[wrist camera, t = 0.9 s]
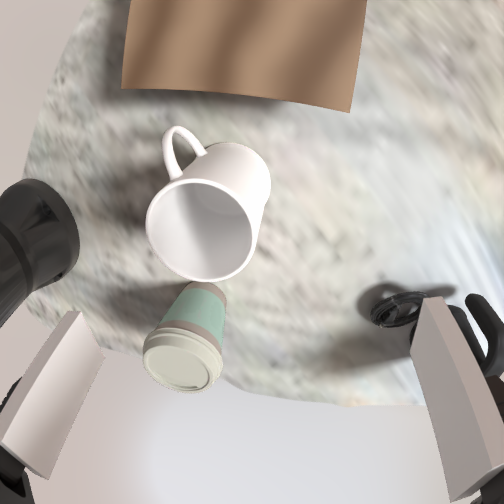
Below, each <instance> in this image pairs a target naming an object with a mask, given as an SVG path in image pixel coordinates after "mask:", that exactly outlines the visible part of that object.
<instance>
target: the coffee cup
mask: <svg viewBox="0 0 504 504" xmlns="http://www.w3.org/2000/svg"><path fill="white" fill-rule="evenodd" d="M225 313H226V298H225V295H224V294H223V292H222V291H221V290H220V289H219V288H218V287H216V286H215V285H213V284H211V283H208V282H198V281H196V282H192V283H190V284H188V285H187V286H186V287H185V288H184V289H183V290H182V292H181V293H180V295H179V296H178V297H177V299H176V300H175V302H174V303H173V304H172V306H171V307H170V309H169V310H168V311H167V313H166V314H165V316H164V317H163V319H162V320H161V321H160V323H159V324H158V326H157V327H156V329H155V330H154V331H153V332H151V333H150V334H149V335H148V336H147V337H146V339H145V341H144V346H143V364H144V368H145V369H146V371H147V373H148V374H149V375H150V376H151V377H152V378H153V379H154V380H155V381H156V382H158V383H159V384H161V385H163V386H165V387H166V388H169V389H171V390H174V391H177V392H182V393H199V392H203V391H205V390H207V389H209V388H210V387H211V385H212V384H213V383H214V382H215V381H216V380H217V379H218V377H219V375H220V373H221V371H222V368H223V361H222V358H221V352H222V342H223V332H224V322H225Z"/></svg>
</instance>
